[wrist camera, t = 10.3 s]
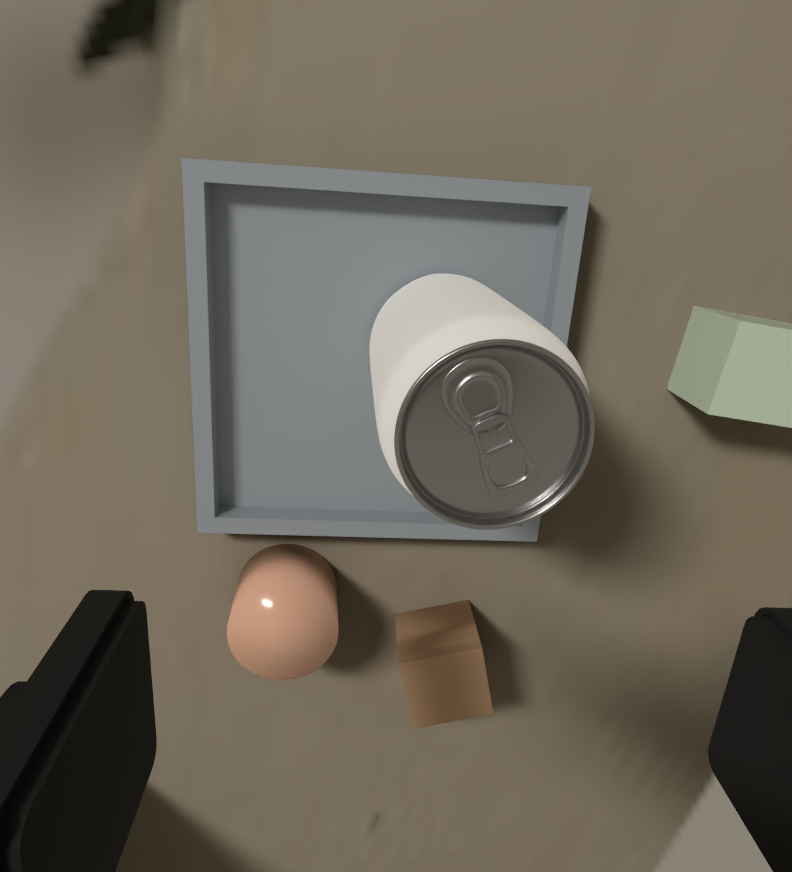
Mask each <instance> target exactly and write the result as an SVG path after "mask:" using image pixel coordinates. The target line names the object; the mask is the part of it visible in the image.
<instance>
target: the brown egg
mask: <svg viewBox="0 0 792 872" xmlns="http://www.w3.org/2000/svg"><path fill="white" fill-rule="evenodd" d="M338 632H339V629H338V601H337V581H336V577H335V574H334V571H333V569H332V567H331V566H330V564H329V563H328V562H327V560H326V559H325V558H324V557H323V556H321V555H320V554H319V553H317V552H315V551H314V550H312V549H310V548H307V547H304V546H301V545H296V544H279V545H274V546H271V547H268V548H266V549H263V550H261V551H260V552H258V553H257V554H255V555H254V556H253V557H252V558H251V559H250V560H249V561H248V562H247V563H246V565H245V566H244V568H243V570H242V572H241V574H240V577H239V581H238V585H237V589H236V593H235V597H234V601H233V605H232V609H231V613H230V617H229V621H228V626H227V639H228V644H229V647H230V650H231V652H232V654H233V655H234V657H235V658H236V660H237V661H238V662H239V663H240V664H241V665H242V666H243V667H244V668H246V669H247V670H249V671H250V672H252V673H254V674H256V675H258V676H261V677H264V678H268V679H274V680H289V679H295V678H299V677H302V676H305V675H307V674H310V673H312V672H313V671H315V670H317V669H318V668H319V667H321V666H322V665H323V664H324V663H325V662H326V661H327V660H328V658H329V657H330V656H331V654H332V653H333V651H334V649H335V646H336V644H337V640H338Z"/></svg>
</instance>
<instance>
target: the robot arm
mask: <svg viewBox="0 0 792 872" xmlns="http://www.w3.org/2000/svg"><path fill="white" fill-rule="evenodd" d="M155 754H156V727H155V714H154V702H153V689H152V676H151V664H150V651H149V638H148V626H147V613H146V605H145V603H144V602H143V601H134V597H133V594H132V593H131V592H130V591H115V590H91V591H89V592H88V593H87V594H86V595H85V596H84V598H83V599H82V601H81V602H80V604H79V605H78V607H77V608H76V610H75V611H74V613H73V614H72V616H71V617H70V619H69V620H68V622H67V623H66V625H65V626H64V627H63V629H62V630H61V632H60V633H59V635H58V636H57V638H56V639H55V641H54V642H53V644H52V645H51V647H50V648H49V650H48V651H47V653H46V654H45V656H44V657H43V659H42V660H41V662H40V663H39V665H38V666H37V667H36V669H35V670H34V672H33V673H32V675H31V676H30V678H29V679H28V681H27V682H20V681H18V682H16V683H14V684H12V685H11V686H10V687H9V688H8V689H7V690H6V691H5V692H4V694H3V695H2V696H1V698H0V872H115V870H116V868H117V865H118V862H119V859H120V857H121V854H122V851H123V848H124V845H125V843H126V840H127V837H128V834H129V831H130V829H131V826H132V823H133V820H134V818H135V815H136V812H137V809H138V806H139V804H140V801H141V798H142V795H143V792H144V790H145V787H146V784H147V781H148V779H149V776H150V773H151V770H152V767H153V764H154V759H155ZM708 756H709V762H710V765H711V768H712V770H713V772H714V774H715V776H716V778H717V779H718V781H719V783H720V784H721V786H722V788H723V789H724V791H725V793H726V794H727V796H728V798H729V799H730V801H731V803H732V804H733V806H734V807H735V809H736V811H737V812H738V814H739V816H740V817H741V819H742V821H743V822H744V824H745V826H746V827H747V829H748V831H749V832H750V834H751V836H752V837H753V839H754V841H755V842H756V844H757V845H758V847H759V849H760V851H761V852H762V854H763V856H764V857H765V859H766V861H767V862H768V864H769V865H770V867H771V869H772V870H773V872H792V608H766V607H764V608H761V609H759V610H758V611H757V612H756V613H755V616H753V617H749V618H748V619H747V620H746V623H745V625H744V628H743V632H742V635H741V638H740V642H739V645H738V649H737V652H736V655H735V659H734V662H733V666H732V669H731V672H730V676H729V679H728V683H727V686H726V689H725V693H724V696H723V699H722V703H721V706H720V710H719V713H718V716H717V720H716V723H715V727H714V730H713V733H712V737H711V740H710V744H709V749H708Z"/></svg>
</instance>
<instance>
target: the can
mask: <svg viewBox="0 0 792 872" xmlns="http://www.w3.org/2000/svg"><path fill="white" fill-rule="evenodd" d="M369 356H370V369H371V379H372V389H373V399H374V408H375V416H376V424H377V431H378V436H379V441H380V445H381V448H382V451H383V454H384V457H385V459H386V461H387V463H388V465H389V467H390V469H391V471H392V472H393V474H394V476H395V477H396V478H397V480H398V481H399V482H400V483H401V485H402V486H403V487H404V488H405V489H406V490H407V491H408V492H409V493H410V494H412V495H413V496H414V497H415V498H416V499H417V501H418V502H419V503H420V504H421V505H423V506H424V507H425V508H426V509H427V510H429V511H430V512H431V513H433V514H434V515H436V516H437V517H439V518H441V519H443V520H445V521H447V522H450V523H452V524H455V525H458V526H462V527H466V528H472V529H481V530H494V529H503V528H509V527H514V526H517V525H520V524H524V523H526V522H529V521H531V520H533V519H535V518H537V517H539V516H541V515H543V514H545V513H546V512H548V511H549V510H551V509H552V508H553V507H555V506H556V505H557V504H558V503H560V502H561V501H562V500H563V499H564V498H565V497H566V496H567V495H568V494H569V493H570V492H571V490H572V489H573V488H574V487H575V485H576V484H577V483H578V481H579V480H580V478H581V476H582V475H583V473H584V471H585V469H586V467H587V464H588V462H589V459H590V456H591V453H592V449H593V445H594V438H595V417H594V411H593V406H592V403H591V399H590V396H589V390H588V386H587V382H586V379H585V376H584V374H583V372H582V369H581V367H580V366H579V364H578V362H577V360H576V359H575V357H574V356H573V354H572V353H571V352H570V350H569V349H568V348H567V347H566V346H565V344H564V343H563V342H562V341H561V340H560V339H559V338H557V337H556V336H555V335H554V334H553V333H552V332H550V331H549V330H548V329H547V328H545V327H544V326H543V325H541V324H540V323H539V322H537V321H536V320H534V319H533V318H532V317H530V316H529V315H527V314H526V313H525V312H523V311H522V310H520V309H519V308H517V307H516V306H515V305H513V304H512V303H510V302H509V301H507V300H506V299H504V298H503V297H502V296H500V295H499V294H497V293H496V292H494V291H493V290H491V289H490V288H488V287H487V286H485V285H483V284H481V283H480V282H478V281H476V280H473V279H471V278H468V277H465V276H461V275H456V274H445V273H438V274H431V275H427V276H423V277H421V278H418V279H416V280H414V281H412V282H410V283H408V284H407V285H405V286H404V287H402V288H401V289H400V290H398V291H397V292H396V293H394V294H393V295H392V296H391V297H390V298H389V299H388V300H387V301H386V303H385V304H384V305H383V307H382V308H381V310H380V312H379V313H378V315H377V317H376V320H375V322H374V325H373V328H372V332H371V336H370V345H369Z"/></svg>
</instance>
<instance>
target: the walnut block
mask: <svg viewBox="0 0 792 872" xmlns="http://www.w3.org/2000/svg"><path fill="white" fill-rule="evenodd" d="M394 618H395V628H396V639H397V649H398V659H399V666H400V671H401V675H402V680H403V684H404V688H405V693H406V697H407V702H408V706H409V710H410V715H411V719H412V724H413V728H414V729H415V728H420V727H426V726H431V725H436V724H441V723H446V722H451V721H457V720H462V719H467V718H472V717H477V716H483V715H488V714H493V708H492V702H491V697H490V691H489V685H488V679H487V673H486V667H485V661H484V656H483V650H482V645H481V642H480V638H479V635H478V631H477V628H476V624H475V621H474V617H473V614H472V610H471V607H470V603H469V600H466V601H461V602H455V603H450V604H445V605H440V606H435V607H430V608H425V609H420V610H415V611H409V612H404V613H399V614H394Z"/></svg>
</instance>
